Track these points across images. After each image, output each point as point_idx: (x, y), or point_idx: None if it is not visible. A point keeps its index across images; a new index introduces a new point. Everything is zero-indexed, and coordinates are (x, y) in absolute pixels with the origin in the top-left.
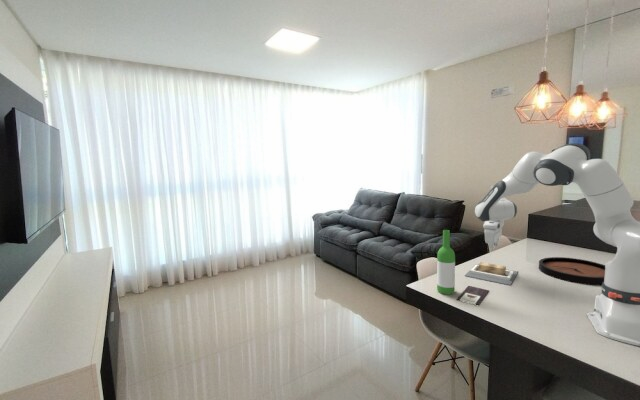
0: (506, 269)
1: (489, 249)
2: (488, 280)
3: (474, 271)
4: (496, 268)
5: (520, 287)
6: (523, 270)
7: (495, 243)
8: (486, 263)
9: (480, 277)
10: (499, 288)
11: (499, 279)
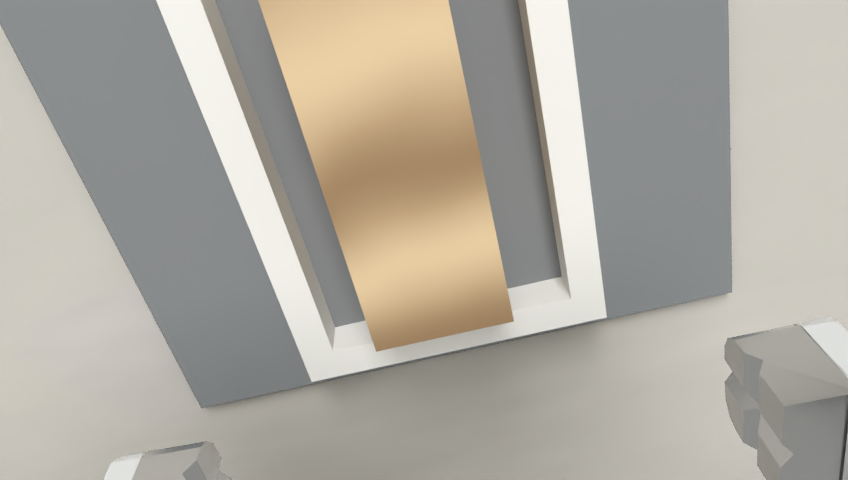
0: (728, 170)
1: (110, 467)
2: (97, 206)
3: None
4: (346, 254)
5: (245, 466)
6: (840, 299)
7: (777, 433)
8: (439, 40)
9: (85, 84)
10: (15, 372)
11: (253, 277)
